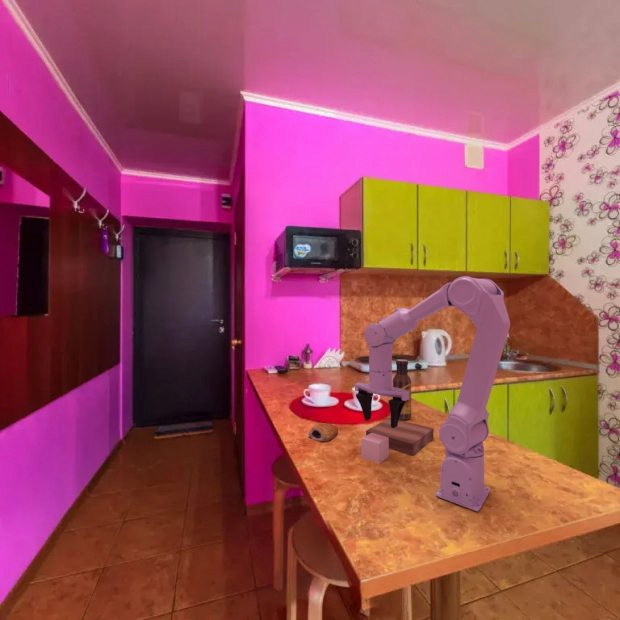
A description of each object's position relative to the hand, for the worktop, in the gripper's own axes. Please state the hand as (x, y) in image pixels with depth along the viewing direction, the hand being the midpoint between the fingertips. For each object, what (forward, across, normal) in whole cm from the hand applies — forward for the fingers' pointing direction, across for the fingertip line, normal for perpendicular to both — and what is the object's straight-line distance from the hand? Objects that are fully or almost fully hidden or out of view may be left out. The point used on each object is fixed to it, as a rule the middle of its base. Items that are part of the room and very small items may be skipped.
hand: (380, 423), depth 83 cm
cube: (+9, +1, +1) cm, 9 cm away
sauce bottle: (+9, +9, -31) cm, 33 cm away
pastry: (+9, +19, 0) cm, 21 cm away
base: (+8, +1, -13) cm, 15 cm away
